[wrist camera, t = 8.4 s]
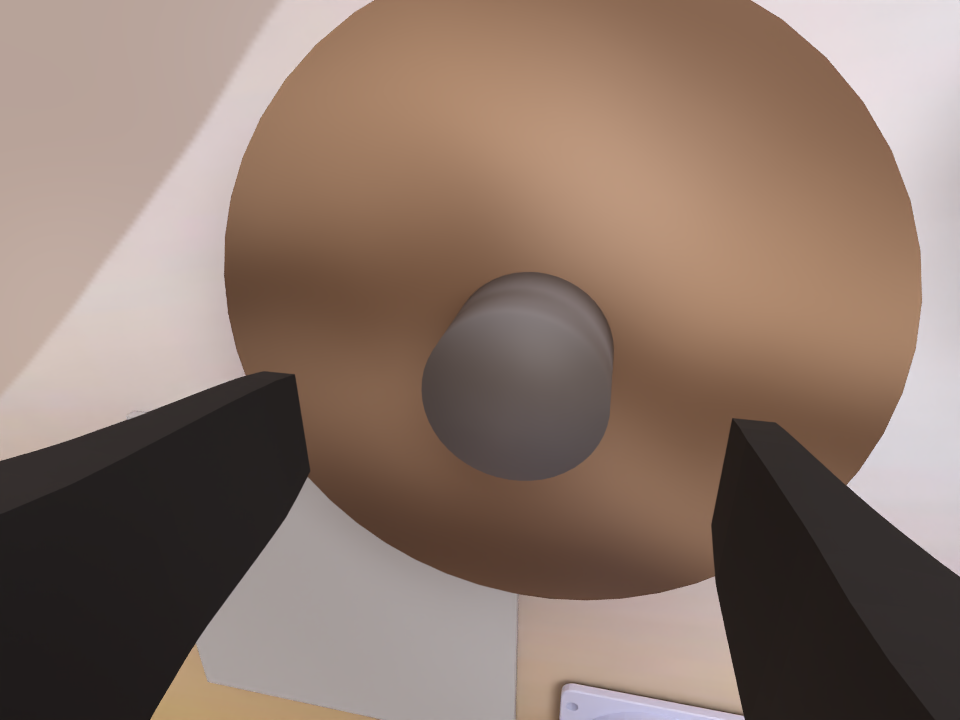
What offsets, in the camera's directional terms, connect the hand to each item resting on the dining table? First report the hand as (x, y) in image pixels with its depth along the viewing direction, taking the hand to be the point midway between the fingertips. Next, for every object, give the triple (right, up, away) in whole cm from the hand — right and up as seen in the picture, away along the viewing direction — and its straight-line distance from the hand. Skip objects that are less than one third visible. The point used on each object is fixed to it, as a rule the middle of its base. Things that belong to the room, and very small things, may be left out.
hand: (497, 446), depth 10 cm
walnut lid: (+1, +2, +4) cm, 5 cm away
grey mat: (-7, -8, +17) cm, 20 cm away
